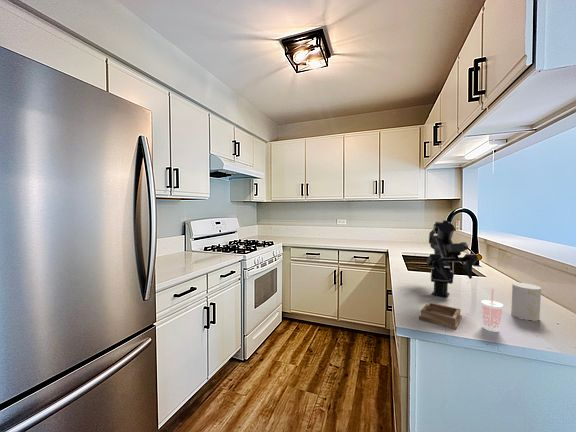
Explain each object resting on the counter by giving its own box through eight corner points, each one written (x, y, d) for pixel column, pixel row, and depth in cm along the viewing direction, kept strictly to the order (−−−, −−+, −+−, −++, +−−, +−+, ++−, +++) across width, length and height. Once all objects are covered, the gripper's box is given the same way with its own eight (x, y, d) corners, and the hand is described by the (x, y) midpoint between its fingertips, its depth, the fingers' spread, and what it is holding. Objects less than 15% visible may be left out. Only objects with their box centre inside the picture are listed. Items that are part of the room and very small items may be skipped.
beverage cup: (504, 328, 92) (505, 289, 91) (500, 334, 88) (501, 293, 87) (482, 322, 96) (484, 285, 95) (478, 328, 92) (479, 288, 91)
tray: (427, 309, 108) (427, 301, 108) (461, 318, 100) (462, 309, 100) (418, 319, 99) (418, 310, 99) (456, 329, 91) (456, 319, 91)
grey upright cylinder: (529, 322, 97) (531, 290, 96) (505, 313, 104) (507, 283, 104) (545, 319, 99) (546, 288, 98) (520, 311, 107) (522, 281, 106)
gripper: (430, 235, 111) (442, 268, 101) (476, 235, 110) (494, 268, 100) (421, 249, 120) (432, 281, 110) (465, 249, 118) (479, 281, 108)
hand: (459, 278), depth 107 cm, fingers open, 9 cm apart
